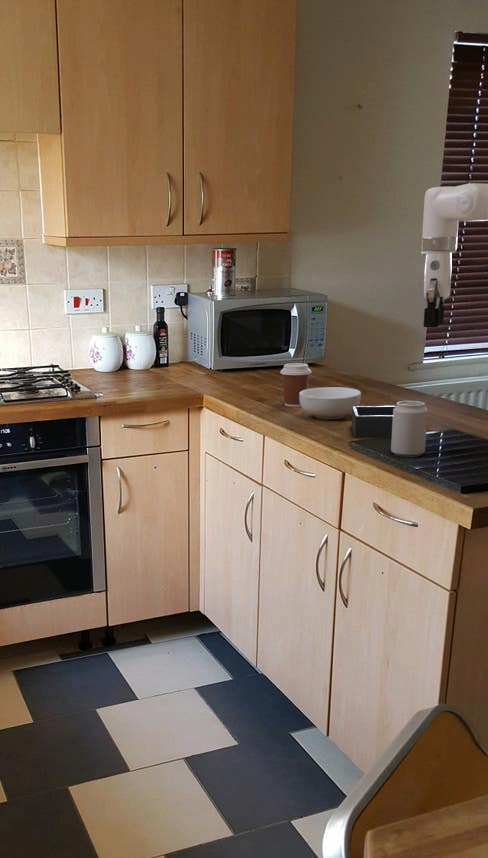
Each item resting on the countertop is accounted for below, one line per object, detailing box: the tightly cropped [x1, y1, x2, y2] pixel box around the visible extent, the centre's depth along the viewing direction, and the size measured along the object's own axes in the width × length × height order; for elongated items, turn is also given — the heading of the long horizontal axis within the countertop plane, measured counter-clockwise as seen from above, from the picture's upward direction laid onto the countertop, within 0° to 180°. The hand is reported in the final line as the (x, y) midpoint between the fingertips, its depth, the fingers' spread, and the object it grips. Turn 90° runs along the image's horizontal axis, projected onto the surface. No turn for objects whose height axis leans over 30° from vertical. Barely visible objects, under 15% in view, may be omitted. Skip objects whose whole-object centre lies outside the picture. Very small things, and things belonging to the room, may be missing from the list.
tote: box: [350, 405, 397, 439], centre depth 222 cm, size 14×14×6 cm
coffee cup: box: [280, 362, 312, 407], centre depth 261 cm, size 9×9×12 cm
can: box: [390, 400, 429, 458], centre depth 198 cm, size 8×8×12 cm
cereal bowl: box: [299, 386, 362, 420], centre depth 243 cm, size 17×17×7 cm
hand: (433, 325), depth 201 cm, fingers open, 9 cm apart
